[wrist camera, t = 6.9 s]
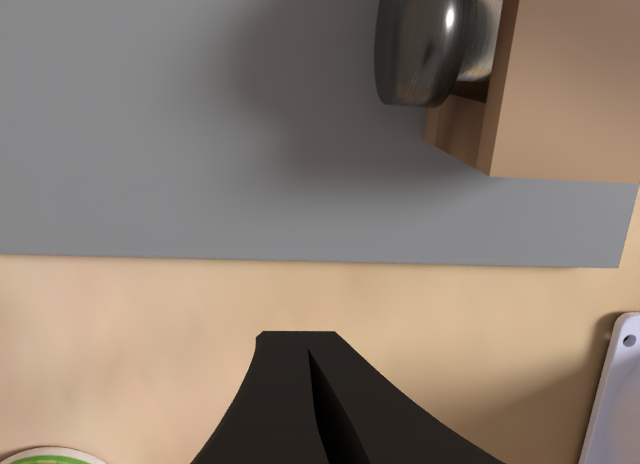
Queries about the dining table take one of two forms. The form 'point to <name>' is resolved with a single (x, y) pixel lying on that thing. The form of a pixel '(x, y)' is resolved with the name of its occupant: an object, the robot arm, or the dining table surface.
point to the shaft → (432, 48)
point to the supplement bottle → (52, 457)
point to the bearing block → (552, 96)
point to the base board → (253, 146)
